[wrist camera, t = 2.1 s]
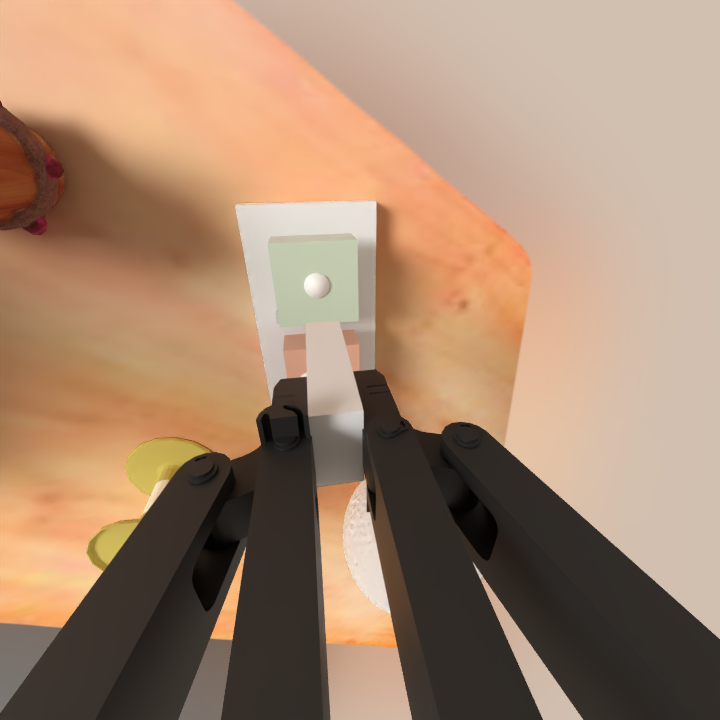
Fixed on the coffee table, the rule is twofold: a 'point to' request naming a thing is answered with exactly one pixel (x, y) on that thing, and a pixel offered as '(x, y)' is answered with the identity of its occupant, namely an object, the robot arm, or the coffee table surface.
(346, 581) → the coffee table surface
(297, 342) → the tile terracotta
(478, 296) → the coffee table surface
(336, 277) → the tile sage
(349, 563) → the white rounded lump
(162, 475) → the candle
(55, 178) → the mug
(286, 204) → the board
